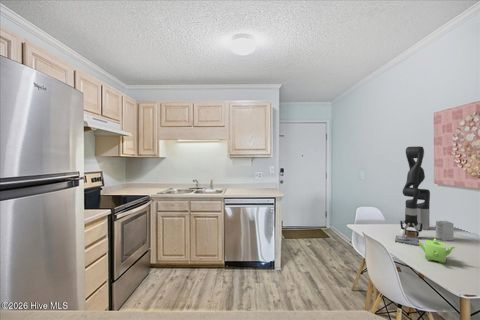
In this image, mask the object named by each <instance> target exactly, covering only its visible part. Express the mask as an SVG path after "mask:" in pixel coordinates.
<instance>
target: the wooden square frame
mask: <svg viewBox="0 0 480 320" xmlns="http://www.w3.org/2000/svg"><path fill="white" fill-rule="evenodd" d="M405 237H410V238H416V239H417V240H418V237H417V233H416V230H413V229H412V230H411V229H406V235H405Z"/></svg>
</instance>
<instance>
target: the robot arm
mask: <svg viewBox="0 0 480 320" xmlns="http://www.w3.org/2000/svg"><path fill="white" fill-rule="evenodd" d="M405 155H406V160H407V163H408V167H409V170H408V172H407V176H406V182H405V183H404V184H405V185H404V187H403V189H402V195H403V196H405V197H410V198H412V199H406V200H405V209H404V213H405V214H404V216H405V217H404V220H400V230H401V229H404V230H405V236H406V230H408V228H412V229H415V231H416V233H417V238H418V237H419V236H420V232H423V230H425V231H429V230H430V223H431V222H430V212H431V211H430V199H431V191H430V189H425V188H419V187H420V185H421V184H422V183H423V182H424V180H425V179H426V176H425V170H424V168H423V167H422V164H423V159H424V156H425V149H424V147H423V146H407V147H406V148H405ZM415 159H416V160H415ZM411 186H412V187H411ZM418 201H423V202H418ZM403 224H405V226H404V225H403Z"/></svg>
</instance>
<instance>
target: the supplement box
mask: <svg viewBox="0 0 480 320" xmlns="http://www.w3.org/2000/svg"><path fill="white" fill-rule="evenodd" d="M454 231H455V230H454V223H453V222H451V221H448V220H435V237H436V239H438V240H439V239H440V240H441V241H454V239H455V238H454Z"/></svg>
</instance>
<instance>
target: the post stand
mask: <svg viewBox="0 0 480 320" xmlns="http://www.w3.org/2000/svg"><path fill="white" fill-rule="evenodd" d="M394 239H395V240H394V242H395V243H397V242H399V243H398V244H403V243H405V244H404V245H409V244H410V245H409V246H414V247H415V246H417V247H418V246H419V244H418V243H419V242H418V238H417V239H416V238H410V237H406V235H405V230H404V229H401V228H400V235H395V238H394Z"/></svg>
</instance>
